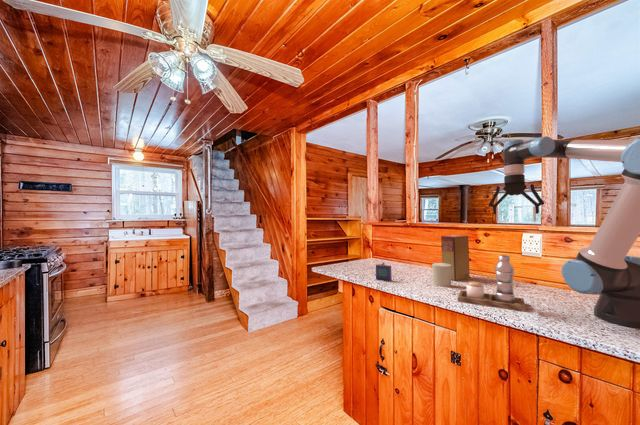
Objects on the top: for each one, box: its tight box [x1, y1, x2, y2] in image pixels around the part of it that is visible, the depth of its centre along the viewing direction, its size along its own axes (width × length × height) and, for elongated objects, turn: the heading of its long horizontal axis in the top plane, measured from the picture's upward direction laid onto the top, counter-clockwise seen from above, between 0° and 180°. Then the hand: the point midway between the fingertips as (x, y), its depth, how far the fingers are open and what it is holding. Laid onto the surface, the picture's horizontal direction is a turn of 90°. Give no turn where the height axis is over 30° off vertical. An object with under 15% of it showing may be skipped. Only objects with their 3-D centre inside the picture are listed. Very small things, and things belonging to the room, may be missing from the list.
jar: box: [466, 280, 485, 300], centre depth 115 cm, size 6×6×7 cm
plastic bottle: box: [494, 254, 516, 304], centre depth 109 cm, size 6×7×20 cm
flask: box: [375, 261, 393, 282], centre depth 155 cm, size 9×3×11 cm, turn 61°
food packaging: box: [440, 234, 471, 282], centre depth 156 cm, size 13×9×25 cm
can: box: [431, 262, 452, 288], centre depth 140 cm, size 9×9×12 cm
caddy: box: [457, 289, 527, 312], centre depth 112 cm, size 23×11×3 cm, turn 56°
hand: (515, 221), depth 121 cm, fingers open, 13 cm apart
